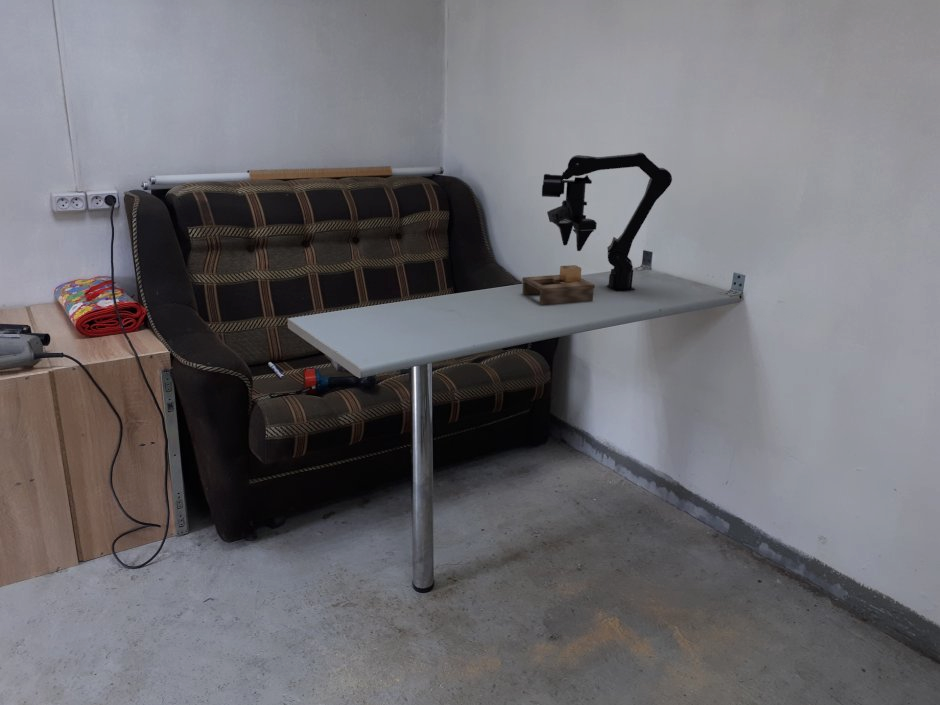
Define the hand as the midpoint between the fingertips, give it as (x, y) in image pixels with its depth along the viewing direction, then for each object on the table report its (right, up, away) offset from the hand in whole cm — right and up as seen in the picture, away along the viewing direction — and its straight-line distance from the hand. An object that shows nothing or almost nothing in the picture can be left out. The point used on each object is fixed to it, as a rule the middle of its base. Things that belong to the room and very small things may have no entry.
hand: (571, 248), depth 226 cm
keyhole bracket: (-5, -16, -10) cm, 20 cm away
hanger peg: (-2, -15, -9) cm, 18 cm away
